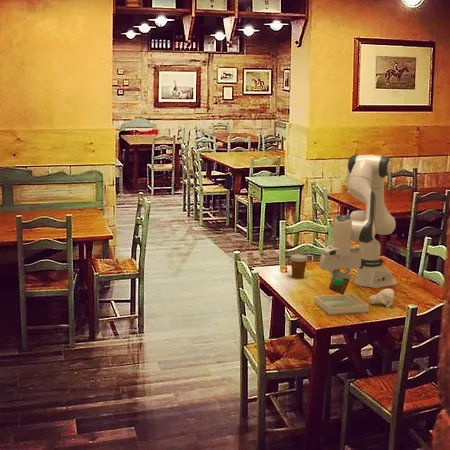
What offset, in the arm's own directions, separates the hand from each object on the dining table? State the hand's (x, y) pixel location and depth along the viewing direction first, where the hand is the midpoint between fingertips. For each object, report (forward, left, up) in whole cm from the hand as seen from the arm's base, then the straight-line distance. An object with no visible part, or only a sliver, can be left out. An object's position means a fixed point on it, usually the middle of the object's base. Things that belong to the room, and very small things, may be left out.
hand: (339, 277), depth 330 cm
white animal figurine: (-23, 0, -15) cm, 27 cm away
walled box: (-2, 0, -15) cm, 15 cm away
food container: (+3, 0, -6) cm, 7 cm away
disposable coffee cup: (0, -52, -15) cm, 54 cm away
